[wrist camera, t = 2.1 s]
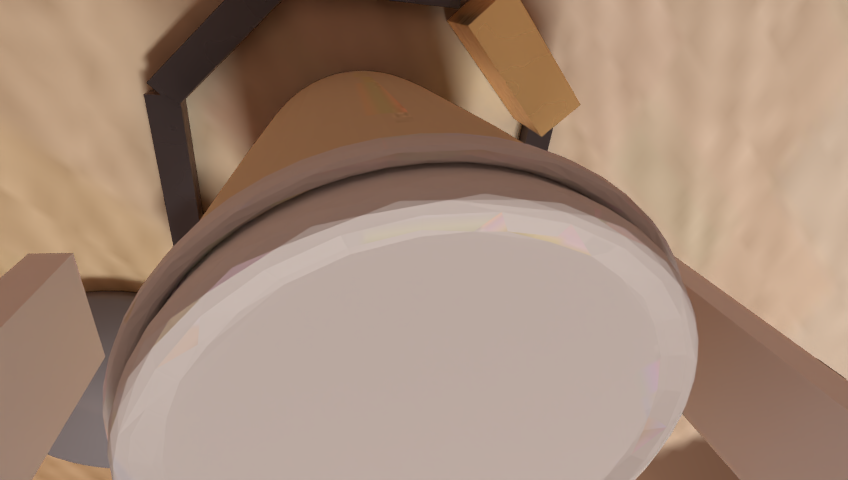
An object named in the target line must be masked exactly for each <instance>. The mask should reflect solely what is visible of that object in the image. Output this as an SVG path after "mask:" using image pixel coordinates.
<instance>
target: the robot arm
mask: <svg viewBox="0 0 848 480" xmlns="http://www.w3.org/2000/svg"><path fill="white" fill-rule="evenodd" d="M674 257H675V256H674ZM675 259H676V262H677V265H678V268H679V272H680V275H681V278H682V282H683V284H684V286H685V288H686V290H687V293H688V296H689V298H690V301H691V304H692V307H693V310H694V313H695V317H696V324H697V332H698V339H699V340H698V357H697V366H696V373H695V379H694V382H693V385H692V388H691V391H690V395H689V398H688V401H687V403H686V406H685V408H684V410H683V413H682V414H683V415H684V416H685V418H686V419H687V420H688V421H689V422H690V423H691V424H692V426H693V427H694V428H695V429H696V430H697V431H698V432H699V433H700V435H701V436H702V437H703V438H704V439H705V440H706V441H707V443H708V444H709V445H710V446H711V447H712V448H713V449H714V451H716V453H717V454H718V455H719V456H720V457H721V458H722V459H723V461H724V462H725V463H726V464H727V465H728V466H729V468H730V469H731V470H732V471H733V472H734V473H735V474H736V476H737V477H738V478H739V479H740V480H848V381H847V380H846V379H845V378H844V377H843V376H841V375H840V374H838V373H837V372H836V371H834V370H833V369H831V368H830V367H829V366H827V365H826V364H824V363H823V362H822V361H820V360H819V359H817V358H815V357H814V356H812V355H811V354H810V353H808V352H807V351H805V350H804V349H803V348H801V347H800V346H798V345H797V344H796V343H794V342H793V341H792V340H790V339H789V338H787V337H786V336H785V335H783V334H782V333H780V332H779V331H778V330H776V329H775V328H773V327H772V326H771V325H769V324H768V323H766V322H765V321H764V320H762V319H761V318H760V317H758V316H757V315H755V314H754V313H753V312H751V311H750V310H748V309H747V308H746V307H744V306H743V305H741V304H740V303H739V302H737V301H736V300H734V299H733V298H732V297H730V296H729V295H728V294H726V293H725V292H723V291H722V290H721V289H719V288H718V287H716V286H715V285H714V284H712V283H711V282H709V281H708V280H707V279H705V278H704V277H703V276H701V275H700V274H698V273H697V272H696V271H694V270H693V269H691V268H690V267H689V266H687V265H686V264H684V263H683V262H682V261H680V260H679V259H677V258H676V257H675ZM104 358H105V354H104V351H103V348H102V344H101V341H100V338H99V335H98V332H97V328H96V325H95V322H94V319H93V316H92V312H91V309H90V306H89V303H88V300H87V296H86V293H85V290H84V287H83V283H82V280H81V277H80V274H79V271H78V267H77V264H76V261H75V258H74V255H73V253H46V254H27V255H26V256H25V257H24V258H23V259H22V260H21V261H19V262H18V263H17V264H16V265H15V266H14V267H13V268H11V269H10V270H9V271H8V272H7V273H6V274H5V275H3V276H2V277H1V278H0V480H32V479H33V477H34V475H35V474H36V472H37V470H38V469H39V467H40V465H41V464H42V462H43V460H44V459H45V457H46V455H47V454H48V452H49V450H50V449H51V447H52V445H53V444H54V442H55V440H56V438H57V437H58V435H59V433H60V432H61V430H62V428H63V427H64V425H65V423H66V422H67V420H68V418H69V417H70V415H71V413H72V412H73V410H74V408H75V407H76V405H77V403H78V402H79V400H80V398H81V397H82V395H83V393H84V392H85V390H86V388H87V387H88V385H89V383H90V381H91V380H92V378H93V376H94V375H95V373H96V371H97V370H98V368H99V366H100V365H101V363H102V361H103V360H104Z"/></svg>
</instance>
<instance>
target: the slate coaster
mask: <svg viewBox="0 0 848 480" xmlns="http://www.w3.org/2000/svg"><path fill="white" fill-rule="evenodd" d="M85 293H86V296H87V300H88V303H89V306H90V309H91V312H92V316H93V319H94V322H95V325H96V328H97V332H98V335H99V338H100V341H101V344H102V348H103V351H104V354H105V358H104V360H103V361H102V363H101V365H100V366H99V368H98V370H97V371H96V373H95V375H94V376H93V378H92V380H91V381H90V383H89V385H88V387H87V388H86V390H85V392H84V393H83V395H82V397H81V398H80V400H79V402H78V403H77V405H76V407H75V408H74V410H73V412H72V413H71V415H70V417H69V418H68V420H67V422H66V423H65V425H64V427H63V428H62V430H61V432H60V433H59V435H58V437H57V438H56V440H55V442H54V444H53V445H52V447H51V449H50V450H49V452H48V455H51V456H53V457H56V458H59V459H63V460H66V461H69V462H73V463H78V464H82V465H88V466H95V467H102V468H110V465H109V460H108V440H107V436H106V430H105V425H104V419H103V384H104V379H105V374H106V369H107V364H108V359H109V355H110V352H111V349H112V346H113V344H114V341H115V339H116V336H117V333H118V331H119V328H120V326H121V323H122V320H123V318H124V316H125V314H126V312H127V310H128V309H129V307H130V305H131V303H132V302H133V300H134V298H135V296H136V295H137V293H133V292H124V291H96V292H85Z"/></svg>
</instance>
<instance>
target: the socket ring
mask: <svg viewBox="0 0 848 480" xmlns="http://www.w3.org/2000/svg"><path fill="white" fill-rule="evenodd" d="M281 1H282V0H224V1H223V2H222V4H221V5H220V6H219V7H218V8H217V9H216V10H215V11H214V12H213V13H212V14H211V15H210V16H209V17H208V18H207V19H206V20H205V22H204V23H203V24H202V25H201V26H200V27H199V28H198V29H197V30H196V31H195V32H194V33H193V34H192V35H191V36H190V37H189V38H188V39H187V41H186V42H185V43H184V44H183V45H182V46H181V47H180V48H179V49H178V50H177V51H176V52H175V53H174V54H173V55H172V56H171V57H170V59H169V60H168V61H167V62H166V63H165V64H164V65H163V66H162V67H161V68H160V69H159V70H158V71H157V72H156V73H155V74H154V75H153V77H152V78H151V79H150V80H149V81H148V82H147V84H149V85H150V86H151V87H152V88H153V89H154V90H156V91H152V90H150V91H148V92H147V93H145V94H144V98H145V103H146V108H147V113H148V118H149V123H150V128H151V133H152V139H153V144H154V149H155V154H156V159H157V164H158V169H159V174H160V179H161V185H162V190H163V195H164V200H165V205H166V210H167V215H168V220H169V226H170V231H171V236H172V241H173V246H174V245H175V244H176V243H177V242H178V241H179V240H180V239H181V238H182V237H183V236H184V235H186V234H187V233H188V232H189V231H190V230H191V229H192V228H193V227H194V226H195V225H196V224H197V223H198V222H199V221H200V219H201V218H202V216H203V210H202V204H201V197H200V190H199V184H198V177H197V171H196V164H195V158H194V151H193V144H192V138H191V131H190V125H189V118H188V112H187V105H186V98H187V97H188V96H189V95H190V94H191V93H192V92H193V91H194V90H195V89H196V88H197V87H198V86H199V85H200V84H201V83H202V82H203V81H204V80H205V79H206V78H207V77H208V76H209V75H210V74H211V72H212V71H213V70H214V69H215V68H216V67H217V66H218V65H219V64H220V63H221V62H222V61H223V60H224V59H225V58H226V57H227V56H228V55H229V54H230V53H231V52H232V51H233V50H234V49H235V48H236V47H237V46H238V45H239V44H240V43H241V42H242V41H243V40H244V39H245V38H246V37H247V36H248V35H249V34H250V33H251V32H252V30H253V29H254V28H255V27H256V26H257V25H258V24H259V23H260V22H261V21H262V20H263V19H264V18H265V17H266V16H267V15H268V14H269V13H270V12H271V11H272V10H273V9H274V8H275V7H276V6H277V5H278V4H279V3H280V2H281ZM391 1H399V2H408V3H417V4H425V5H434V6H443V7H451V8H460V1H461V0H391ZM447 22H448V23H449V25H450V26H451V28H452V29H453V31H454V32H455V34H456V35H457V36H458V38H459V39H460V41H461V42H462V44H463V45H464V47H465V48H466V50H467V51H468V52H469V54H470V55H471V57H472V58H473V60H474V61H475V63H476V64H477V66H478V67H479V68H480V70H481V71H482V73H483V74H484V76H485V77H486V79H487V80H488V82H489V83H490V84H491V86H492V87H493V89H494V90H495V92H496V93H497V95H498V96H499V98H500V99H501V101H502V102H503V103H504V105H505V106H506V108H507V109H508V111H509V112H510V114H511V115H512V117H513V118H514V119H515V120H517V121H518V122H520V123H522V129H521V134H520V138H519V141H521V142H523V143H524V144H529V145H532V146H535V147H538V148H540V149H543V150H546V151H547V150H548V146H549V142H550V138H551V134H552V130H553V127H554V126H555V125H557V124H558V123H559V122H560V121H561V120H563V119H564V118H565V117H566V116H567V115H569V114H570V113H571V112H572V111H573V110H575V109H576V108H577V107H578V106H580V103H579V101H578V99H577V98H576V96H575V94H574V92H573V91H572V89H571V87H570V85H569V84H568V82H567V80H566V79H565V77H564V75H563V73H562V72H561V70H560V68H559V66H558V65H557V63H556V61H555V59H554V58H553V56H552V54H551V52H550V51H549V49H548V47H547V45H546V44H545V42H544V40H543V38H542V37H541V35H540V33H539V31H538V30H537V28H536V26H535V24H534V23H533V21H532V19H531V18H530V16H529V14H528V12H527V11H526V9H525V7H524V5H523V4H522V2H521V0H469V1H468V2H467V3H465V4H464V5H463V6H462V7H461V8H460V9H459V10H458V11H457V12H456V13H455V14H454V15H452V16H451V17H450V18H449V19H448V20H447Z"/></svg>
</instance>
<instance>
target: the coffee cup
mask: <svg viewBox="0 0 848 480" xmlns="http://www.w3.org/2000/svg"><path fill="white" fill-rule="evenodd" d="M698 340H699V339H698V332H697V324H696V317H695V313H694V310H693V307H692V304H691V301H690V298H689V296H688V293H687V290H686V288H685V286H684V284H683V282H682V278H681V275H680V272H679V268H678V265H677V262H676V259H675V257H674V255H673V253H672V251H671V249H670V247H669V245H668V243H667V241H666V239H665V238H664V237H663V235H662V234H661V232H660V231H659V230H658V228H657V227H656V225H655V224H654V222H653V221H652V220H651V219H650V218H649V217H648V216H647V215H646V214H645V213H644V212H643V211H642V210H641V209H640V208H639V207H638V206H637V205H636V204H635V203H634V202H633V201H632V200H631V199H630V198H629V197H628V196H627V195H626V194H625V193H623V192H622V191H621V190H619V189H618V188H617V187H615V186H614V185H613V184H611V183H610V182H608V181H607V180H606V179H604V178H603V177H601V176H600V175H598V174H596V173H594V172H592V171H590V170H588V169H586V168H585V167H583V166H581V165H579V164H577V163H575V162H573V161H571V160H569V159H566V158H564V157H562V156H559V155H557V154H554V153H551V152H548V151H546V150H543V149H540V148H538V147H535V146H532V145H529V144H524V143H523V142H521V141H519V140H518V139H516V138H514V137H512V136H511V135H509V134H507V133H506V132H504V131H502V130H501V129H499V128H497V127H496V126H494V125H492V124H490V123H488V122H486V121H485V120H483V119H481V118H479V117H477V116H475V115H474V114H472V113H470V112H468V111H466V110H464V109H462V108H461V107H459V106H457V105H455V104H453V103H451V102H449V101H448V100H446V99H444V98H442V97H440V96H438V95H436V94H435V93H433V92H431V91H429V90H427V89H425V88H423V87H422V86H419V85H417V84H415V83H412V82H410V81H408V80H406V79H403V78H400V77H397V76H394V75H391V74H387V73H382V72H375V71H349V72H343V73H338V74H334V75H331V76H328V77H326V78H323V79H321V80H318V81H316V82H314V83H312V84H311V85H309V86H307V87H306V88H304V89H302V90H301V91H300V92H298V93H297V94H296V95H295V96H293V97H292V98H291V99H290V100H289V101H288V102H287V103H286V104H285V105H284V106H283V107H282V108H281V109H280V111H279V112H278V113H277V114H276V116H275V117H274V118H273V119H272V120H271V122H270V123H269V125H268V126H267V127H266V129H265V130H264V131H263V133H262V134H261V135H260V137H259V138H258V139H257V141H256V142H255V143H254V145H253V146H252V148H251V149H250V150H249V152H248V153H247V154H246V156H245V157H244V158H243V160H242V161H241V163H240V164H239V166H238V167H237V168H236V170H235V171H234V173H233V174H232V175H231V177H230V178H229V180H228V181H227V183H226V184H225V185H224V187H223V188H222V190H221V191H220V192H219V194H218V195H217V197H216V198H215V200H214V201H213V202H212V204H211V205H210V207H209V208H208V209H207V211H206V212H205V214H204V215H203V216H202V218H201V219H200V221H199V222H198V223H197V224H196V225H195V226H194V227H193V228H192V229H191V230H190V231H189V232H188V233H187V234H186V235H184V236H183V237H182V238H181V239H180V240H179V241H178V242H177V243H176V244H175V245H174V246H173V247H172V249H171V250H170V251H169V252H168V253H167V254H166V256H165V257H164V258H163V259H162V260H161V262H160V263H159V264H158V266H157V267H156V268H155V269H154V271H153V272H152V273H151V275H150V276H149V277H148V278H147V280H146V281H145V282H144V284H143V285H142V286H141V287H140V289H139V291H138V293H137V295H136V296H135V298H134V300H133V302H132V303H131V305H130V307H129V309H128V310H127V312H126V314H125V316H124V318H123V320H122V323H121V326H120V328H119V331H118V333H117V336H116V339H115V341H114V344H113V346H112V349H111V352H110V355H109V359H108V364H107V369H106V374H105V379H104V384H103V419H104V425H105V430H106V436H107V440H108V460H109V465H110V470H111V475H112V479H113V480H635V479H636V478H637V477H638V476H639V475H640V474H641V473H642V472H643V471H644V470H645V469H646V467H647V466H648V465H649V464H650V462H651V461H652V460H653V458H654V457H655V456H656V455H657V453H658V452H659V451H660V449H661V448H662V447H663V445H664V444H665V442H666V441H667V439H668V438H669V437H670V435H671V433H672V432H673V430H674V428H675V426H676V424H677V422H678V421H679V419H680V417H681V415H682V413H683V410H684V408H685V406H686V403H687V401H688V398H689V395H690V391H691V388H692V385H693V382H694V379H695V373H696V366H697V357H698Z"/></svg>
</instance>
